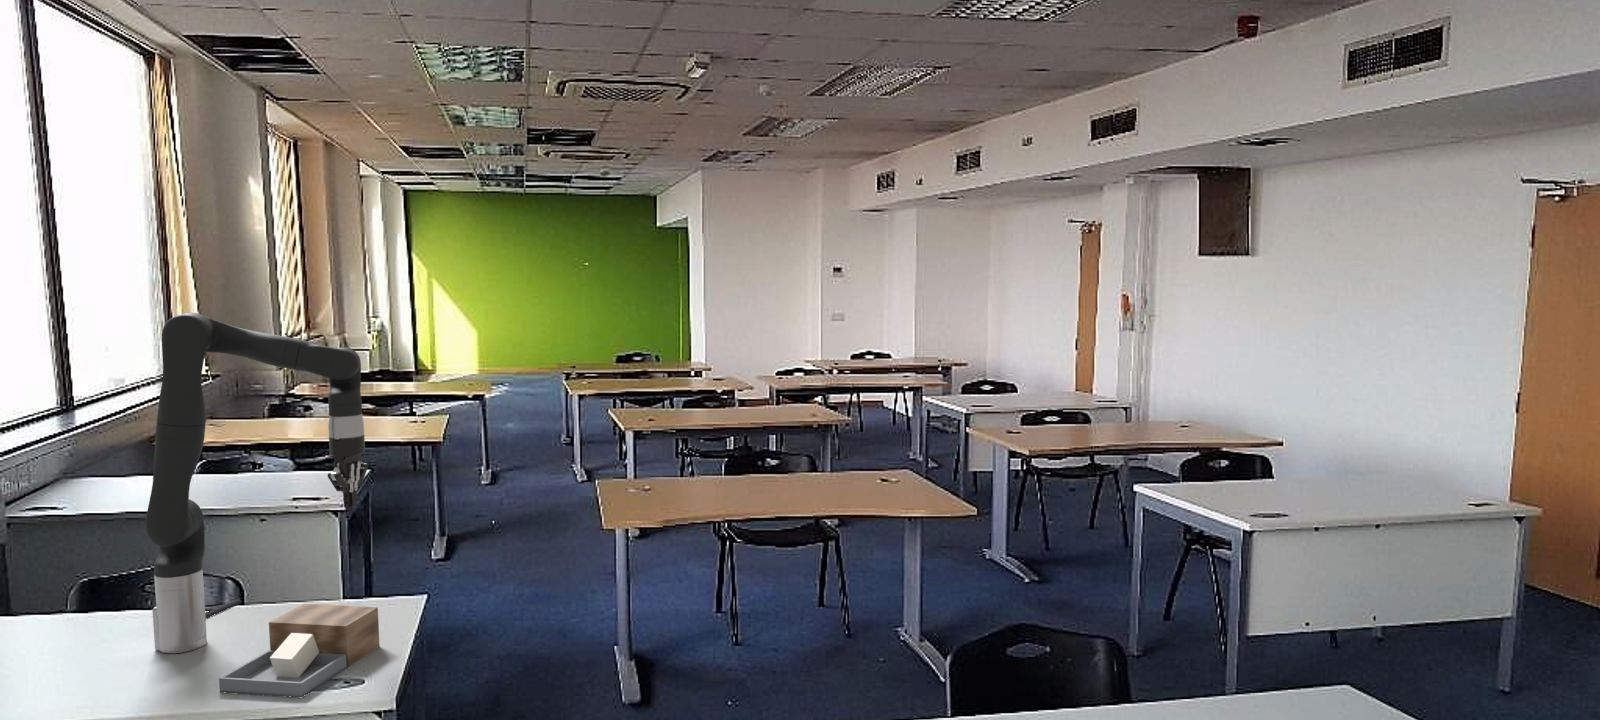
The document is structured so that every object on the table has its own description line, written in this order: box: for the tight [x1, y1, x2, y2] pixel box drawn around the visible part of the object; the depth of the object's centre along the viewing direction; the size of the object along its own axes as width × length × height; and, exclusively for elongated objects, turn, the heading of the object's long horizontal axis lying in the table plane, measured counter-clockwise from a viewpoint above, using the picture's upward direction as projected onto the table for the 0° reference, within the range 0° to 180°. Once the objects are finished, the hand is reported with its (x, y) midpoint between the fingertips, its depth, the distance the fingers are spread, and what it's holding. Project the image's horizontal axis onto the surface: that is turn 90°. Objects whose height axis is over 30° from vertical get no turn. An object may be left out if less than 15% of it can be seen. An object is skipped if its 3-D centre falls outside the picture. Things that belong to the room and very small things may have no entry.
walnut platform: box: [268, 603, 380, 668], centre depth 222 cm, size 18×12×9 cm, turn 82°
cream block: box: [270, 633, 319, 678], centre depth 211 cm, size 5×5×8 cm
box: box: [218, 649, 348, 698], centre depth 209 cm, size 18×15×3 cm
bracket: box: [205, 598, 242, 619], centre depth 251 cm, size 14×15×3 cm
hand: (350, 507), depth 236 cm, fingers closed
